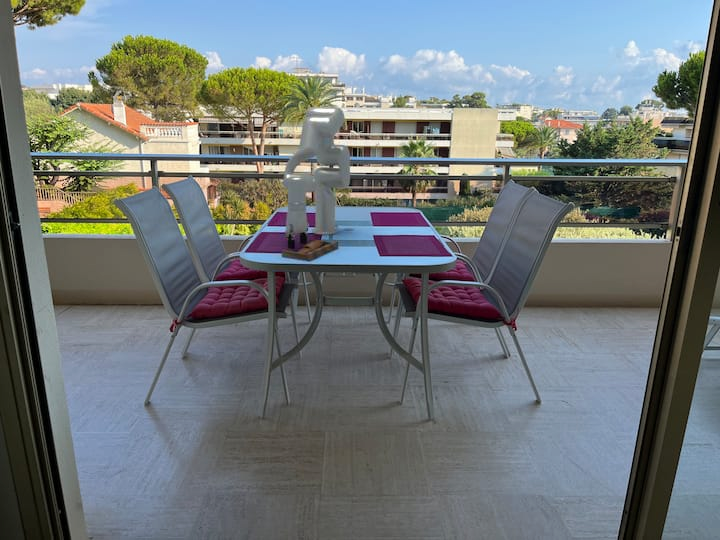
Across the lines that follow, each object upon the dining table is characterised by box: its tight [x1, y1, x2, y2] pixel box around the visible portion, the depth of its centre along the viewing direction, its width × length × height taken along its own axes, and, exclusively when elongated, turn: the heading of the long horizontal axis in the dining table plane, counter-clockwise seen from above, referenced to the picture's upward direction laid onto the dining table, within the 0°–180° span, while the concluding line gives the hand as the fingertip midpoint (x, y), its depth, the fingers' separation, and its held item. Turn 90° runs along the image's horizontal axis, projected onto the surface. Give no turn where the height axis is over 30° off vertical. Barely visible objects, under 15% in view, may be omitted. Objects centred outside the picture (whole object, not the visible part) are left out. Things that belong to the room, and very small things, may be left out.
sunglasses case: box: [297, 239, 324, 254], centre depth 225 cm, size 18×7×7 cm
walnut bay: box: [281, 238, 339, 262], centre depth 224 cm, size 24×13×3 cm, turn 154°
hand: (297, 246), depth 226 cm, fingers open, 9 cm apart
